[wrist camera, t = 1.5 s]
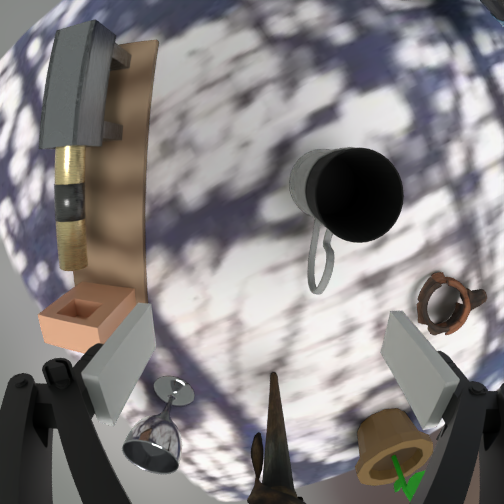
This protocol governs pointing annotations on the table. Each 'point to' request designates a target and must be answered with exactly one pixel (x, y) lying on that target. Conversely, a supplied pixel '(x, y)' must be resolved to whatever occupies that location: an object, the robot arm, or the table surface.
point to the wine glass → (159, 430)
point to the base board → (121, 180)
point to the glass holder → (345, 199)
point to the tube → (70, 207)
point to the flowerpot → (392, 451)
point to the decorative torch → (273, 457)
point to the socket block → (86, 315)
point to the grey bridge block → (80, 87)
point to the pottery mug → (461, 310)
